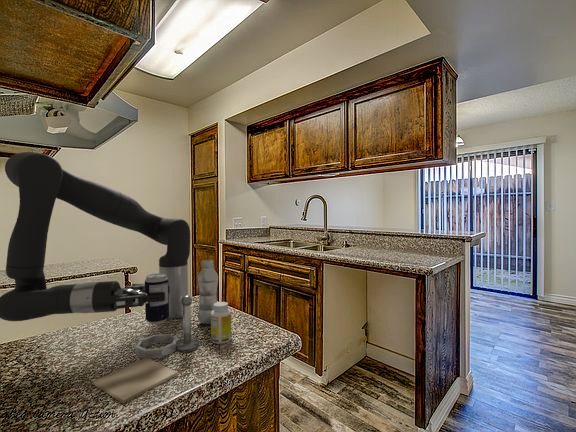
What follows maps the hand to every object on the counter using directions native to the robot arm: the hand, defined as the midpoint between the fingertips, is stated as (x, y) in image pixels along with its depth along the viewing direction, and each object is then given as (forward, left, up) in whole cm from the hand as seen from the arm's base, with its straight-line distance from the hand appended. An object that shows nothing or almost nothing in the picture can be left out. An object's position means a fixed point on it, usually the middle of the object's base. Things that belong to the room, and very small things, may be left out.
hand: (167, 292), depth 81 cm
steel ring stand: (0, 0, -15) cm, 15 cm away
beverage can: (-2, -2, -7) cm, 8 cm away
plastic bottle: (-5, +18, -15) cm, 24 cm away
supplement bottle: (+8, +11, -15) cm, 20 cm away
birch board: (+7, -13, -15) cm, 21 cm away
